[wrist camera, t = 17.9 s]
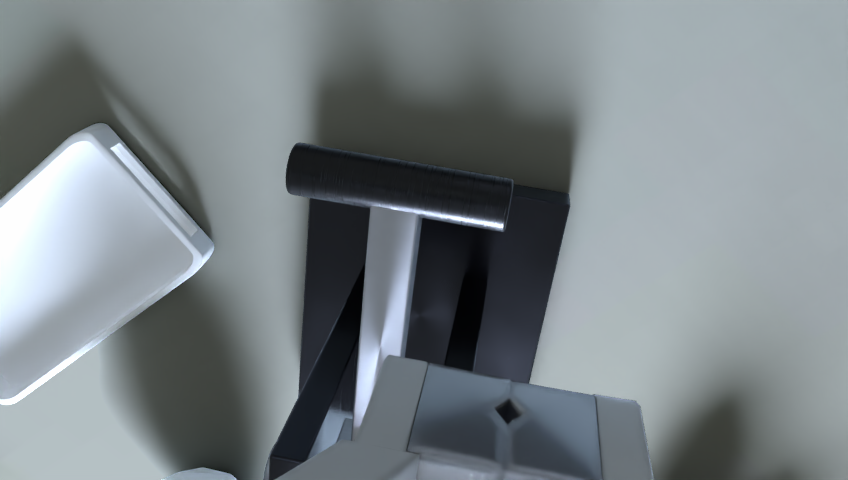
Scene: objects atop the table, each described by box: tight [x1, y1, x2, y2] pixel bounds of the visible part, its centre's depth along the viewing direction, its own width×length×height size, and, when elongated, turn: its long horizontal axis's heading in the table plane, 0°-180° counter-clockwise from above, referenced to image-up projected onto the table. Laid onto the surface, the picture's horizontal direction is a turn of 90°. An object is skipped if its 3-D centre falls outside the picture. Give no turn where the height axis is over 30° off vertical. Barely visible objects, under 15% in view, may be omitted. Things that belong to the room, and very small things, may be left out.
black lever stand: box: [263, 184, 570, 480], centre depth 26 cm, size 12×10×13 cm
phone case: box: [0, 123, 214, 405], centre depth 33 cm, size 7×1×15 cm
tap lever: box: [286, 143, 514, 443], centre depth 19 cm, size 12×5×2 cm, turn 173°
